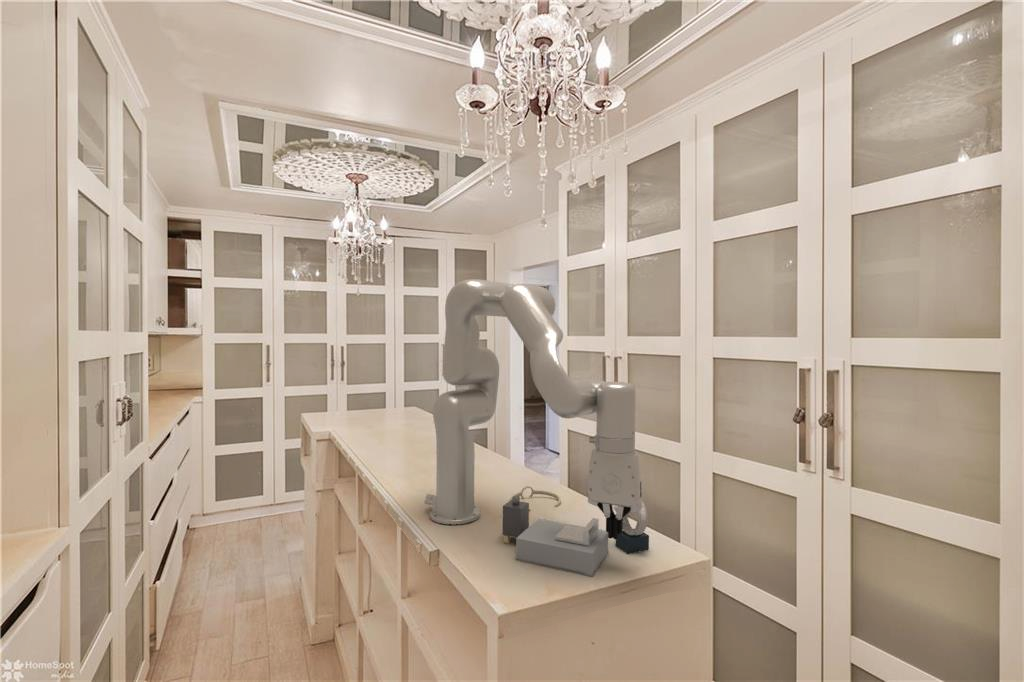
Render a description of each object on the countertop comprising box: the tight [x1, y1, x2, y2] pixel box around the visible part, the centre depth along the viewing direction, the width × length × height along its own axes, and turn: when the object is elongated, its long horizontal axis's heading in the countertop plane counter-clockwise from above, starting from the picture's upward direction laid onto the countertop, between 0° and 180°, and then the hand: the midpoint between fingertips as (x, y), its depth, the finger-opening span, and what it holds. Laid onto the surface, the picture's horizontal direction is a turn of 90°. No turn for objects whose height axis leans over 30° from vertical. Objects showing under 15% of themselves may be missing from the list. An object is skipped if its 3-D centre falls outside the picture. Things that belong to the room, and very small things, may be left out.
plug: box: [502, 495, 530, 544], centre depth 112 cm, size 4×4×10 cm
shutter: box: [555, 517, 600, 546], centre depth 103 cm, size 7×7×3 cm
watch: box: [613, 499, 650, 555], centre depth 109 cm, size 6×8×11 cm
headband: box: [508, 485, 562, 512], centre depth 137 cm, size 15×4×10 cm
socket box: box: [515, 518, 609, 578], centre depth 105 cm, size 16×12×4 cm
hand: (614, 536), depth 100 cm, fingers closed
